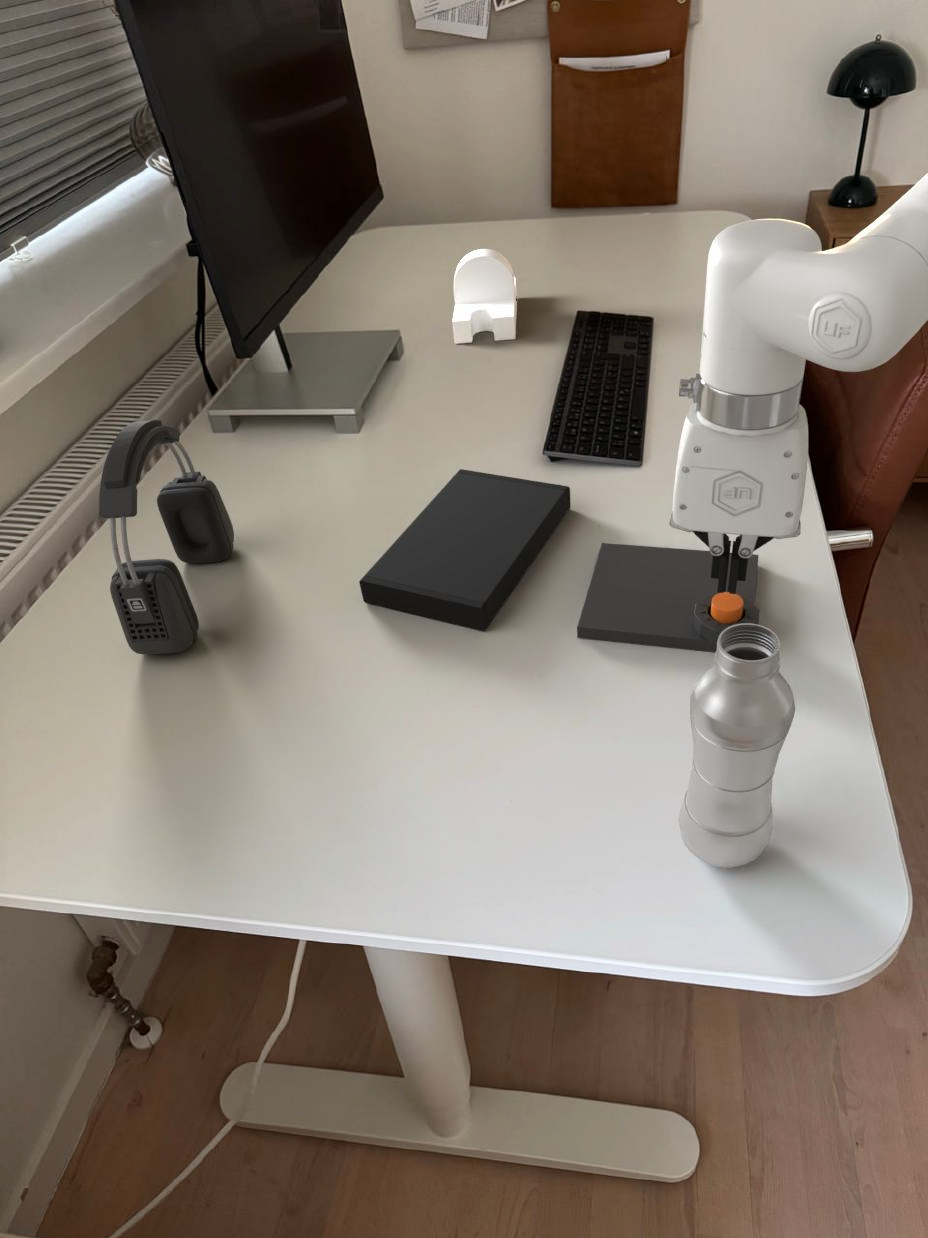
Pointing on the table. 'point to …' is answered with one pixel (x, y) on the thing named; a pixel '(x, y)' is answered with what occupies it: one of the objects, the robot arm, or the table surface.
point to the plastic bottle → (736, 748)
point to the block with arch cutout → (484, 297)
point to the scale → (659, 597)
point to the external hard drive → (467, 549)
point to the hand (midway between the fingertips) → (727, 583)
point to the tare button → (727, 607)
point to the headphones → (194, 524)
